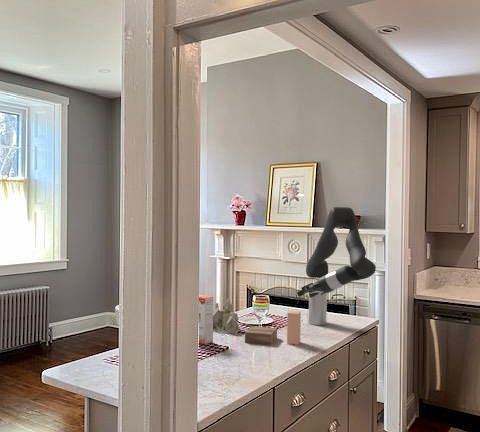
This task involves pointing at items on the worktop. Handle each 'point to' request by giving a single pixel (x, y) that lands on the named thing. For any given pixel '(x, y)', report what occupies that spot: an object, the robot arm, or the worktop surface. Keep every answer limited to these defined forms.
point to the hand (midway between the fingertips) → (303, 295)
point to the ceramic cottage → (225, 319)
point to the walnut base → (261, 335)
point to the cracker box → (205, 319)
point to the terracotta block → (293, 327)
